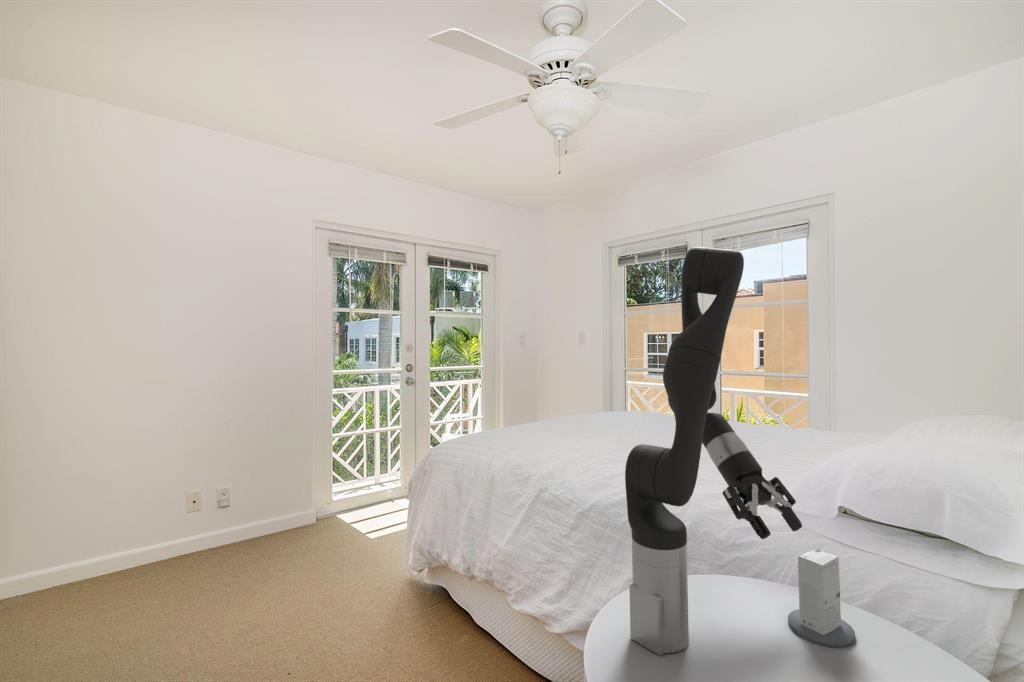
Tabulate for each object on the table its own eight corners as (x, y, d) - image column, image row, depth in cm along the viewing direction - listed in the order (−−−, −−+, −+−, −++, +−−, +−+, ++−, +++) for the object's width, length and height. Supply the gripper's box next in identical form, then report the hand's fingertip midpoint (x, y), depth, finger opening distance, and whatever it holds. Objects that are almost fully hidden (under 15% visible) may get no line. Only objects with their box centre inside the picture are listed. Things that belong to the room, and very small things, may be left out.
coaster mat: (843, 655, 79) (842, 650, 79) (778, 627, 87) (778, 623, 87) (863, 631, 85) (863, 626, 85) (801, 607, 93) (801, 602, 93)
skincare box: (824, 637, 83) (823, 566, 83) (797, 624, 87) (796, 556, 86) (842, 624, 86) (841, 556, 86) (815, 612, 90) (814, 547, 90)
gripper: (717, 453, 98) (768, 531, 87) (767, 445, 103) (821, 517, 93) (697, 473, 102) (744, 548, 92) (747, 464, 108) (795, 535, 98)
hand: (782, 533), depth 92 cm, fingers open, 8 cm apart
